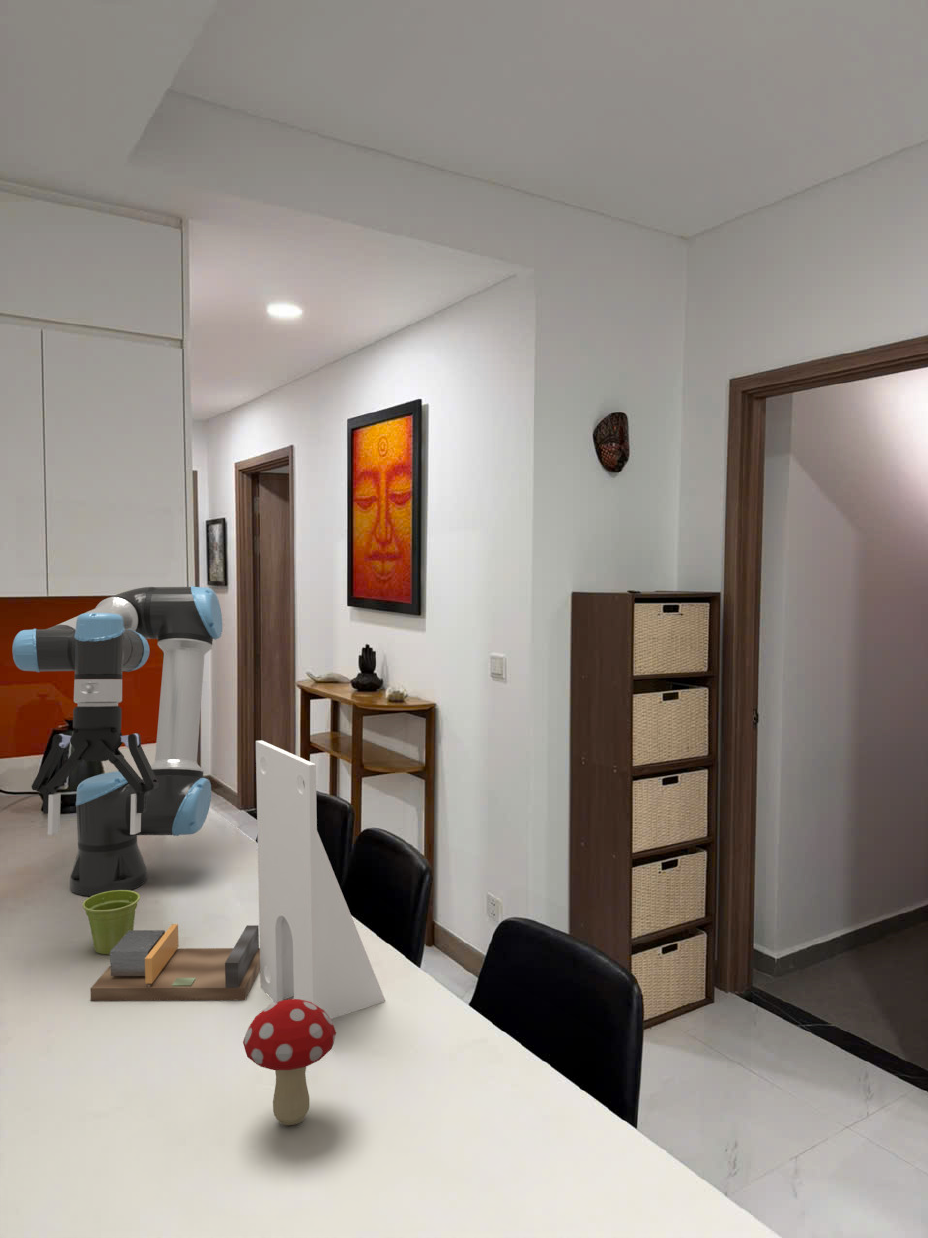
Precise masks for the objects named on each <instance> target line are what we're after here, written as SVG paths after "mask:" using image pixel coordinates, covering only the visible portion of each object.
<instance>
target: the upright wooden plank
mask: <svg viewBox="0 0 928 1238" xmlns="http://www.w3.org/2000/svg"><path fill="white" fill-rule="evenodd" d="M177 948H179V924H178V923H171V925H170V926H169V927H168V929H166V931H165V934H164V935H163V936H162V937H161V939H160V940H159V941H158V943H157V944H156V945H155V946H154V948H153V949H152V950H151V951H150V953H149V954H148V955H147V956H146V958H145V982H146V983H153V981H154V980H155V979H156V977H157V976H158V974H159V973H160V972H161V970H162V969H163V968H164V966H165V965H166V963H167V962H168V961H169V959H170V958H171V957H172V955H173V954H174V952H175V951H176V950H177Z"/></svg>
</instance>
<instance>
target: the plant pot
mask: <svg viewBox="0 0 928 1238" xmlns="http://www.w3.org/2000/svg"><path fill="white" fill-rule="evenodd" d="M140 899H141V895H140V894H139V893H138V892H136V891H134V890H114V891H107V892H103V893H99V894H96V895H93V896H88V897H87V898H86V899H85V900H84V901H83V902H82V908H83V910H84V911H85V914H86V916H87V919H88V921H89V927H90V928H89V929H90V932H91V936H92V942H93V947H94V951H95V952H96V953H98V954H101V955H110V951H111V950H112V949H113V948H114V947H115V946H116V944H117V943H118V942H119V941H120V940H121V939H122V938H123V937H124V935H125V934H126V933H127V932H128V931H129V930H134V925H135V915H136V909H137V907H138V903H139V901H140Z"/></svg>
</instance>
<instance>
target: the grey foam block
mask: <svg viewBox="0 0 928 1238" xmlns="http://www.w3.org/2000/svg"><path fill="white" fill-rule="evenodd" d="M165 932H166V931H165V930H163V929H162V930H161V929H160V930H159V929H156V930H155V929H154V930H150V929H149V930H146V929H145V930H143V929H142V930H137V929H136V930H134V929H133V930H129V931H128V932H127V933H126V934H125V935H124V937H123V938H122V939H121V940H120V941H119V942H118V943H117V944H116V946H115V947H114V948H113V949H112V950H111V951H110V954H109V957H110V960H109V962H110V965H111V976H145V958H146V956H147V955H148V954H149V953H150V951H151V950H152V949H153V948H154V946H155V945H156V944H157V943H158V941H159V940H160V939H161V937H162V936H163V935H164V934H165ZM110 965H109V966H110Z"/></svg>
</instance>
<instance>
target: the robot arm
mask: <svg viewBox="0 0 928 1238" xmlns="http://www.w3.org/2000/svg"><path fill="white" fill-rule="evenodd" d="M222 614H223V613H222V608H221V604H220V601H219V598H218V595H217V594H216V592H215V591H214V590H213V589H212V588H210V587H205V586H203V587H202V586H194V585H191V586H155V587H154V586H145V587H138V588H133V589H130V590H127V591H123V592H119V593H118V594H115V595H112V596H109V597H107V598H105V599H102V600H101V601H100V602H99V603H98V604H97V605H96V606H95V608H93V609H91V610H88V611H86V612H84V613H81V614H79V615H77V616H75V617H73V618H70V619H68V620H66V621H63V622H61V623H59V624H56V625H54V626H51V627H48V628H46V629H45V628H43V629H39V628H38V629H37V628H33V629H23V630H20V631H19V632H18V633H17V634H16V635H15V637H14V639H13V642H12V650H11V651H12V659H13V662H14V664H15V666H16V667H17V669H19V670H21V671H23V672H36V673H40V672H74V675H73V676H74V682H73V683H74V684H73V686H74V687H73V702H74V703H75V704H77V706H74V708H73V709H72V713H73V714H72V729H73V731H72V734H71V735H67V734H65V733H59V734H55V735H53V737H52V742H51V748H50V750H49V752H48V754H47V755H46V758H45V759H44V762H43V763H42V765H41V767H40V769H39V771H38V773H37V774H36V777H35V779H34V780H33V783H31V790H32V791H37V792H40V793H41V794H42V796H43V797H42V800H43V801H42V812H43V814H44V815H46V814H47V834H46V835H47V836H53V835H56V834H59V833H61V831H60V830H61V827H60V826H61V825H60V823H61V797H62V796H61V794H62V793H61V792H58V789H59V788H60V787H61V785H63V783H64V782H66V780H67V779H68V777H69V776H70V775H71V774H72V772H74V770H75V769H76V768H77V767H78V766H79V765H80V763H83V761H84V762H94V761H97V762H107V761H109V762H110V764H112V765H113V766H114V767H115V768H116V769H117V770H116V771H110V772H104V773H101V774H100V773H99V774H97V775H94V776H91V777H88V778H86V779H84V780H82V781H81V782H80V783H79V784H78V786H76V787H77V788H76V801H75V807H76V829H77V832H76V833H77V854H76V857H75V861H74V862H73V863H74V864H73V867H72V870H71V873H70V877H69V884H70V885H69V889H70V891H71V892H72V893H73V894H76V895H80V896H84V897H85V896H86V897H87V896H88V897H91V896H93V895H96V894H99V893H103V892H107V891H114V890H130V891H133V890H134V889H136V888H139V887H141V886H142V885H144V884H145V883H146V881H147V880H148V872H147V871H148V870H147V865H146V863H145V861H144V857H143V855H142V853H141V850H140V847H139V845H138V844H139V843H138V836H174V837H179V836H186V835H188V836H189V835H195V834H196V833H198V832H199V831H200V830H201V829H202V827H203V826H204V824H205V822H206V820H207V817H208V815H209V810H210V806H211V801H212V800H211V799H212V784H211V781H210V780H209V779H208V778H206V777H204V769H203V768H202V767H201V766H200V765H199V764H198V750H199V749H198V748H199V735H200V725H201V723H200V721H201V710H202V707H201V706H202V695H203V694H202V693H203V683H204V682H203V681H204V680H203V679H204V670H205V669H204V666H205V656H206V654H207V653H208V652H210V651H211V650H212V649H213V640H214V641H215V640H216V641H217V639H220V638H221V637H222V633H223V616H222ZM151 639H152V640H157V646H158V648H159V649H160V650H162V652H163V661H162V662H163V663H162V671H161V672H162V673H161V674H162V675H161V686H160V696H159V710H158V719H157V721H158V722H157V731H156V732H157V734H156V743H155V756H154V762H153V763H152V764H150V762H149V760H148V758H147V756H146V754H145V751H144V749H143V747H142V740H141V734H140V733H139V732H138V733H130V734H126V735H123V734H122V731H121V730H122V714H123V713H122V712H123V711H122V707H121V706H120V705H119V703H121V702H123V673H124V672H127V673H129V672H133V671H136V670H138V669H141V668H142V667H143V666H144V665H145V664H146V663H147V661H148V659H149V656H150V650H151V649H150V645H149V643H148V640H151ZM123 743H124V745H125V747H126V748H128V749H129V753H130V755H131V757H132V759H133V761H134V763H135V765H136V767H137V769H138V772H139V773H140V775H139V774H138V773H137V772H136V771H135V769H134V768H133V767H132V766H131V764H130V763H129V762H128V761H127V759H125V756H124V754H123V753H122V752H121V751H120V749H119V748H120V747H121V746H122V745H123ZM69 744H70V745H71V746H72V747H73V749H74V751H73V752H72V753H71V754H70V756H68V758H67V761H66V762H65V763H64V764H63V765H62V766H61V767H60V768H59V770H58V771H57V772H56V773H55V774H54V775H53V773H54V771H55V769H56V767H57V766H58V764H59V761H60V759H61V758H62V756H63V753H64V752H65V749H66V748H68V747H69ZM52 775H53V776H52ZM51 776H52V778H51ZM141 777H142V778H141Z"/></svg>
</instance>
